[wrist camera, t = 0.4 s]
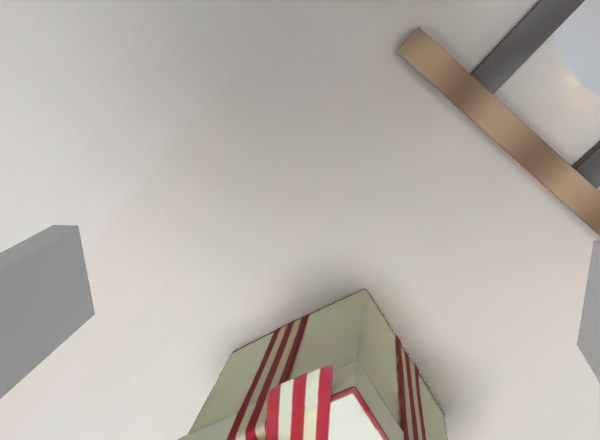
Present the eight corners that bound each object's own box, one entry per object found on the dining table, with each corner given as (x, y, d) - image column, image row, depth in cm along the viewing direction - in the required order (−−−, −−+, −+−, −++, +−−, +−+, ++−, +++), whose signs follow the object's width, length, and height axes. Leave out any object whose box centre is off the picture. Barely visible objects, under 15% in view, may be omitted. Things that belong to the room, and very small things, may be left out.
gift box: (489, 397, 44) (542, 597, 28) (319, 475, 50) (282, 676, 34) (377, 243, 42) (363, 364, 25) (212, 344, 48) (117, 494, 31)
